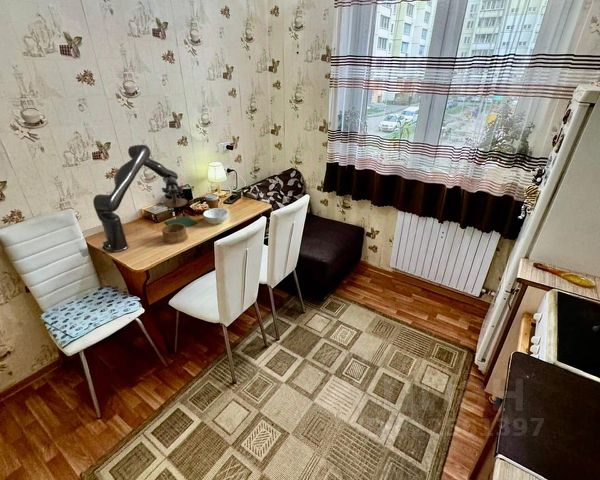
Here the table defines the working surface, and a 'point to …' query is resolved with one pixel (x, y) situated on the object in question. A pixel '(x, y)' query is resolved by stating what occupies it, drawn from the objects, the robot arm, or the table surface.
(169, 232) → the basket
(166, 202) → the basket lid
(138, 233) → the table surface
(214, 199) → the disposable coffee cup
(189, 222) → the mat
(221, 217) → the cereal bowl
